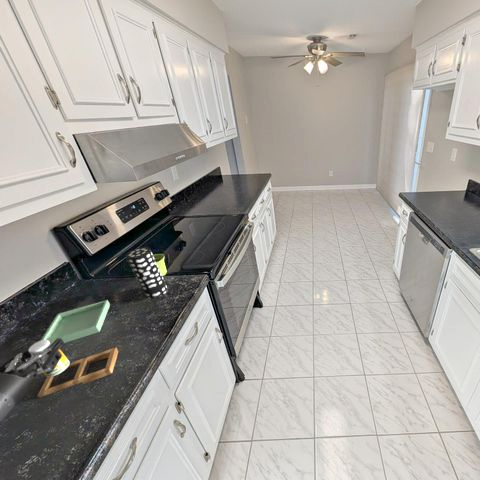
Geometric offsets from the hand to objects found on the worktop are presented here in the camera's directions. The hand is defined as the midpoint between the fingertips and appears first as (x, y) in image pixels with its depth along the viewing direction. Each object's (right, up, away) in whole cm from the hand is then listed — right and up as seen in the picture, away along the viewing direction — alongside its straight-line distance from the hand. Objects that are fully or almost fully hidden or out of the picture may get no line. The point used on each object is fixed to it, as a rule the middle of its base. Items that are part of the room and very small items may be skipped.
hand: (48, 342), depth 71 cm
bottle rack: (+5, -11, +5) cm, 13 cm away
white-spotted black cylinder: (+6, +6, +38) cm, 39 cm away
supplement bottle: (+1, -8, +2) cm, 9 cm away
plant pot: (0, +12, +50) cm, 51 cm away
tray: (-13, -3, +23) cm, 27 cm away
